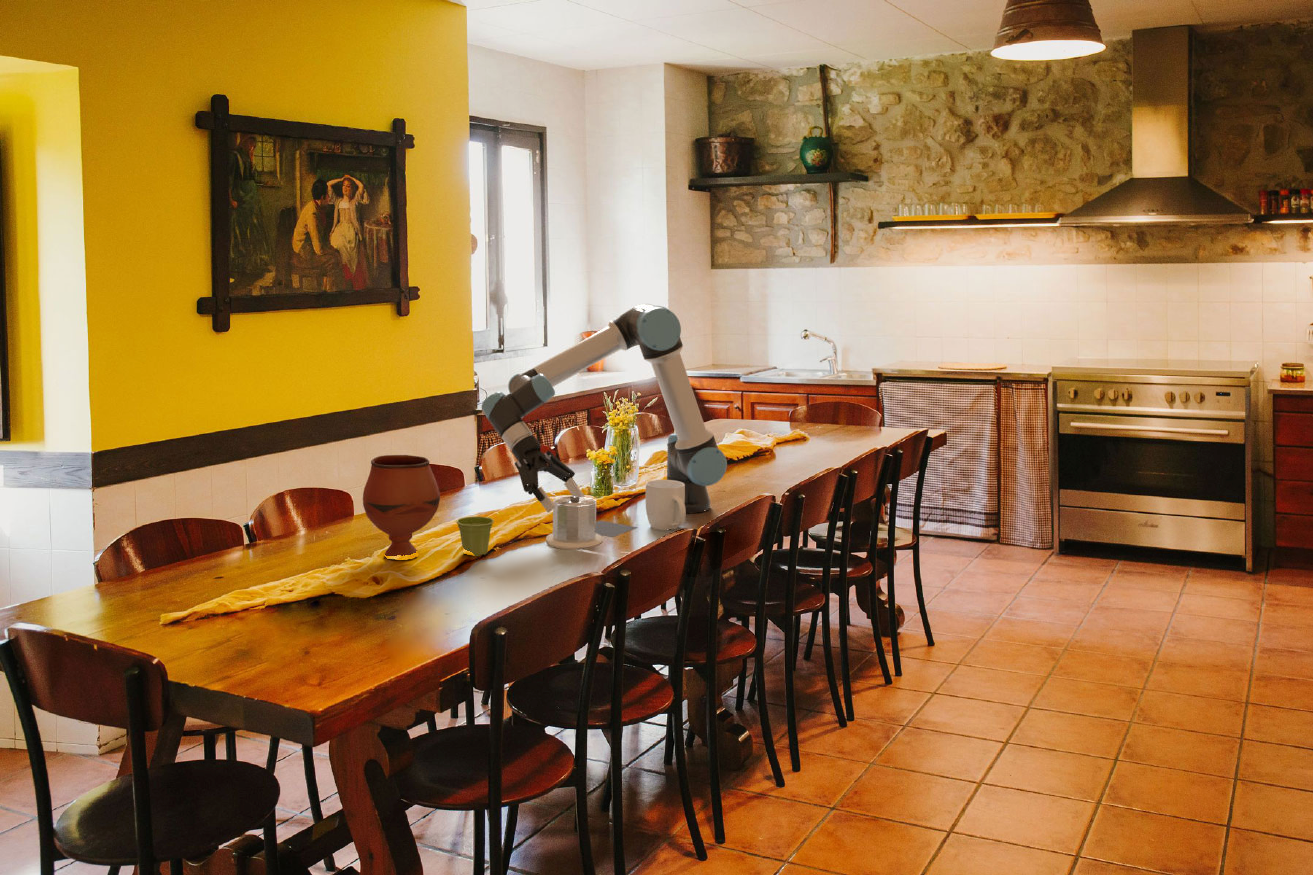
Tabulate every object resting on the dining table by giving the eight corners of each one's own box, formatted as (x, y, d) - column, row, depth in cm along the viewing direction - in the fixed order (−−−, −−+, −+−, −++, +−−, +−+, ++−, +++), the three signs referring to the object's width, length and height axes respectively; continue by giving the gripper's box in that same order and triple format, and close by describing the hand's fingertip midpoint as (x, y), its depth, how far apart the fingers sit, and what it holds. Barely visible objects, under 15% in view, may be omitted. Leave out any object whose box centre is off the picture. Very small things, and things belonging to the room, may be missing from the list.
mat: (599, 522, 331) (599, 520, 331) (638, 529, 324) (638, 527, 324) (573, 531, 320) (573, 529, 320) (612, 539, 313) (612, 537, 313)
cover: (569, 530, 317) (570, 490, 315) (603, 536, 311) (604, 495, 309) (544, 538, 307) (545, 497, 305) (579, 545, 302) (579, 503, 300)
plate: (568, 531, 319) (568, 515, 319) (613, 540, 312) (613, 523, 311) (534, 543, 307) (535, 526, 306) (581, 552, 299) (581, 535, 298)
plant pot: (458, 548, 300) (457, 516, 299) (494, 548, 301) (494, 516, 300) (455, 558, 291) (454, 525, 290) (492, 558, 292) (492, 525, 291)
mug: (699, 534, 321) (701, 488, 318) (666, 539, 315) (667, 492, 312) (669, 522, 333) (670, 478, 331) (637, 526, 327) (638, 481, 325)
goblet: (414, 570, 280) (413, 470, 276) (347, 561, 286) (344, 462, 282) (454, 551, 298) (453, 456, 293) (390, 542, 304) (388, 449, 300)
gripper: (541, 444, 326) (585, 503, 321) (484, 458, 304) (530, 522, 300) (557, 427, 322) (601, 487, 317) (500, 440, 301) (546, 505, 296)
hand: (566, 504), depth 308 cm, fingers open, 13 cm apart
